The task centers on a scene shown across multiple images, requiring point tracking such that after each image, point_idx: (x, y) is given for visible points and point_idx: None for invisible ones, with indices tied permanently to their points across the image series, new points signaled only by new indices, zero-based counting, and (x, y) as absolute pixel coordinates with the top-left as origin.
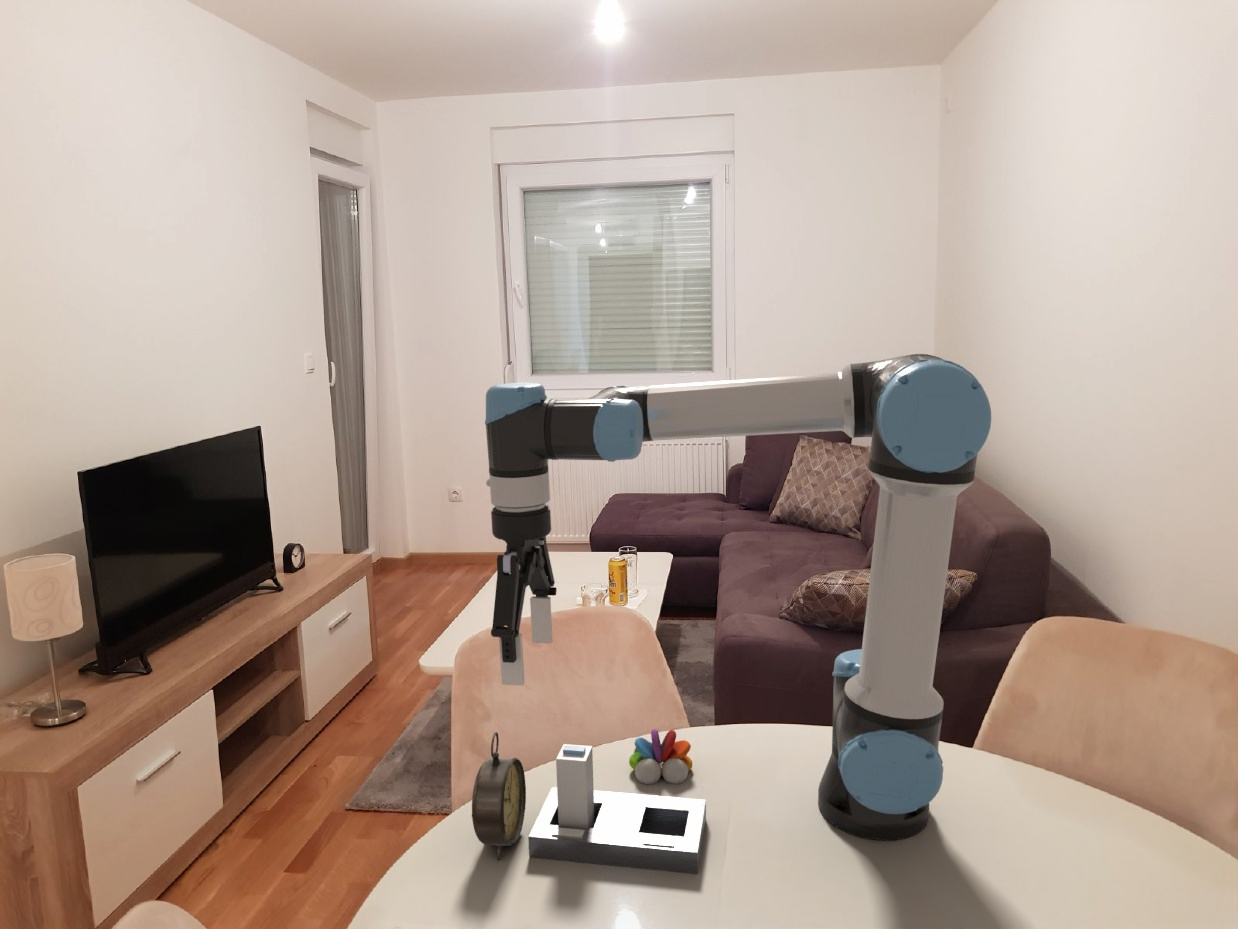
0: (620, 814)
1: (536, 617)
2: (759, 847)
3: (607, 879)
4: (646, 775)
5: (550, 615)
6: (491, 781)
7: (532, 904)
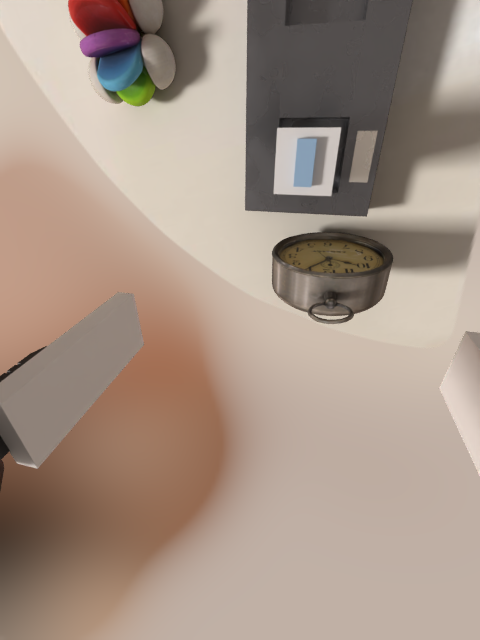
0: (309, 74)
1: (89, 385)
2: None
3: (411, 80)
4: (170, 61)
5: (60, 345)
6: (365, 292)
7: (454, 183)
